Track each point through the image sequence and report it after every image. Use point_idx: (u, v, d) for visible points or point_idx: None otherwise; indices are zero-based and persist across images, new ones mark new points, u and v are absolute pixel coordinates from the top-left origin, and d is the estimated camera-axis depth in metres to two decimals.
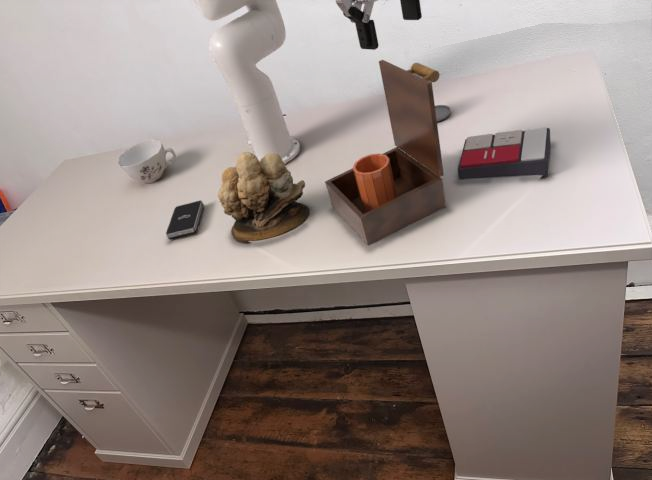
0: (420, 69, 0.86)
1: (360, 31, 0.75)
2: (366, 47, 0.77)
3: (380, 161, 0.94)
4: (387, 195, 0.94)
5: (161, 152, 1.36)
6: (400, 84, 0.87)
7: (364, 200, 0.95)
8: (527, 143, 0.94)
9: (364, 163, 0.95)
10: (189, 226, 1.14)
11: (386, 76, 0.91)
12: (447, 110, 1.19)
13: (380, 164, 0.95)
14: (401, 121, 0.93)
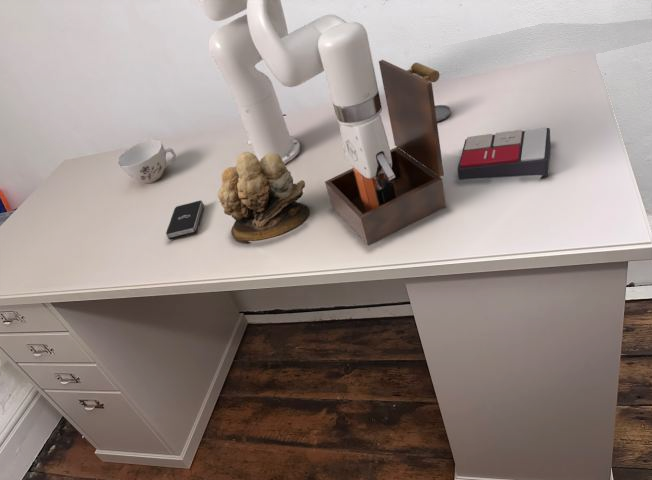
0: (420, 69, 0.86)
1: (386, 193, 0.92)
2: None
3: None
4: None
5: (161, 152, 1.36)
6: (400, 84, 0.87)
7: (364, 200, 0.95)
8: (527, 143, 0.94)
9: None
10: (189, 226, 1.14)
11: (386, 76, 0.91)
12: (447, 110, 1.19)
13: None
14: (401, 121, 0.93)
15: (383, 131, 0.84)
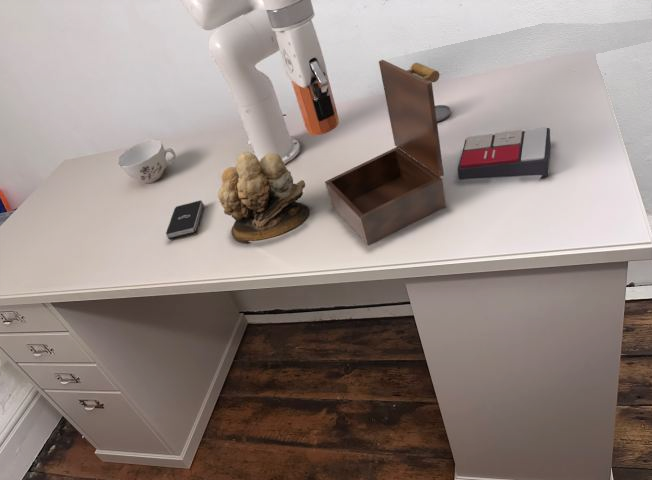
0: (420, 69, 0.86)
1: (323, 105, 0.93)
2: (325, 117, 0.95)
3: None
4: None
5: (161, 152, 1.36)
6: (400, 84, 0.87)
7: (304, 115, 0.97)
8: (527, 143, 0.94)
9: None
10: (189, 226, 1.14)
11: (386, 76, 0.91)
12: (447, 110, 1.19)
13: None
14: (401, 121, 0.93)
15: (315, 36, 0.86)
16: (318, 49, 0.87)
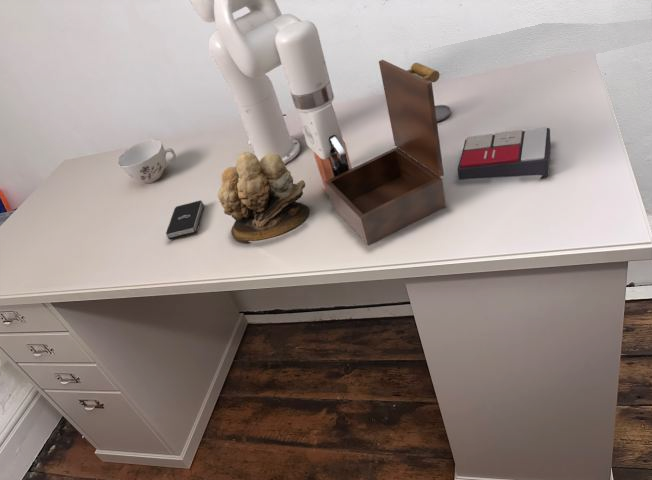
0: (420, 69, 0.86)
1: (342, 172, 1.02)
2: None
3: None
4: None
5: (161, 152, 1.36)
6: (400, 84, 0.87)
7: (324, 180, 1.06)
8: (527, 143, 0.94)
9: None
10: (189, 226, 1.14)
11: (386, 76, 0.91)
12: (447, 110, 1.19)
13: None
14: (401, 121, 0.93)
15: (334, 117, 0.96)
16: (337, 127, 0.97)
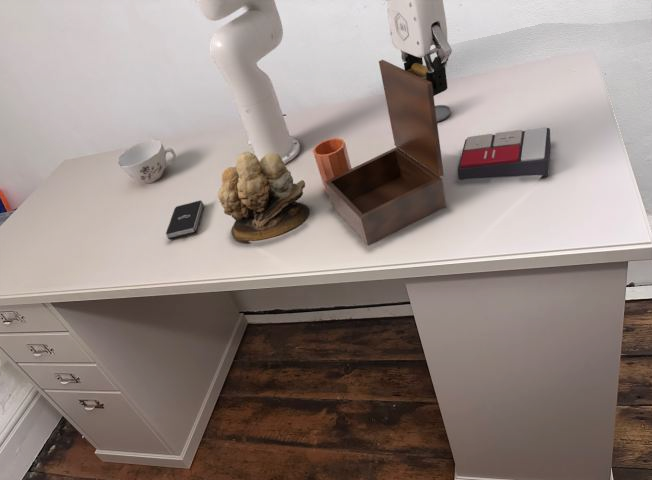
0: (420, 69, 0.86)
1: (438, 78, 0.83)
2: (437, 92, 0.85)
3: (338, 145, 1.06)
4: None
5: (161, 152, 1.36)
6: (400, 84, 0.87)
7: (324, 180, 1.06)
8: (527, 143, 0.94)
9: (324, 147, 1.06)
10: (189, 226, 1.14)
11: (386, 76, 0.91)
12: (447, 110, 1.19)
13: (338, 147, 1.06)
14: (401, 121, 0.93)
15: None
16: (442, 11, 0.76)
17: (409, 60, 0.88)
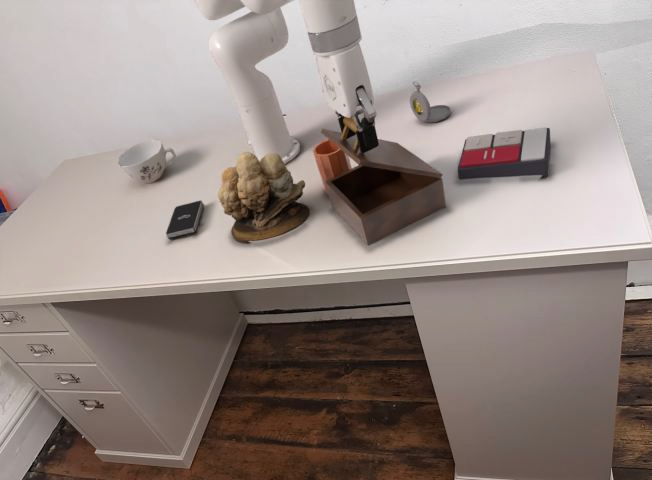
0: (349, 127, 0.87)
1: (367, 136, 0.84)
2: (368, 149, 0.86)
3: None
4: None
5: (161, 152, 1.36)
6: None
7: (324, 180, 1.06)
8: (527, 143, 0.94)
9: (324, 147, 1.06)
10: (189, 226, 1.14)
11: None
12: (447, 110, 1.19)
13: (338, 147, 1.06)
14: None
15: (363, 62, 0.77)
16: (366, 76, 0.78)
17: (343, 116, 0.89)
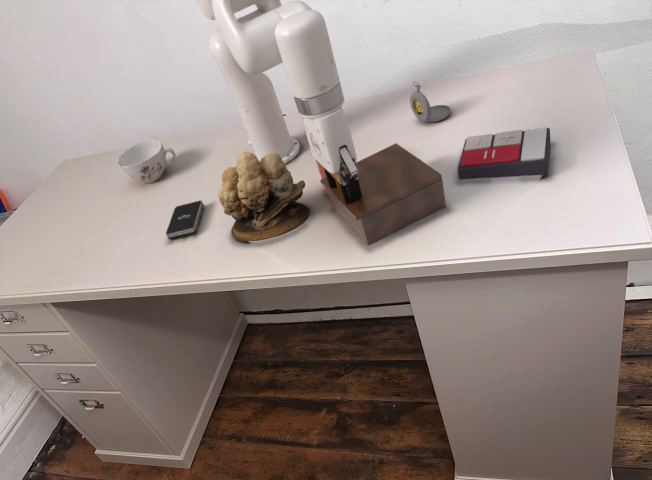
0: None
1: (351, 189, 0.89)
2: (352, 200, 0.91)
3: None
4: None
5: (161, 152, 1.36)
6: None
7: None
8: (527, 143, 0.94)
9: None
10: (189, 226, 1.14)
11: None
12: (447, 110, 1.19)
13: None
14: None
15: (345, 124, 0.82)
16: (348, 136, 0.83)
17: None
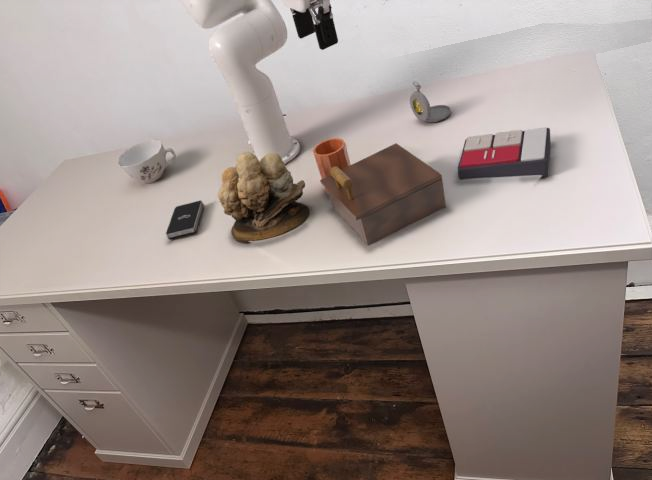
0: None
1: (326, 29, 0.82)
2: (327, 45, 0.85)
3: (338, 145, 1.06)
4: None
5: (161, 152, 1.36)
6: None
7: None
8: (527, 143, 0.94)
9: (324, 147, 1.06)
10: (189, 226, 1.14)
11: None
12: (447, 110, 1.19)
13: (338, 147, 1.06)
14: None
15: None
16: None
17: (297, 12, 0.90)
